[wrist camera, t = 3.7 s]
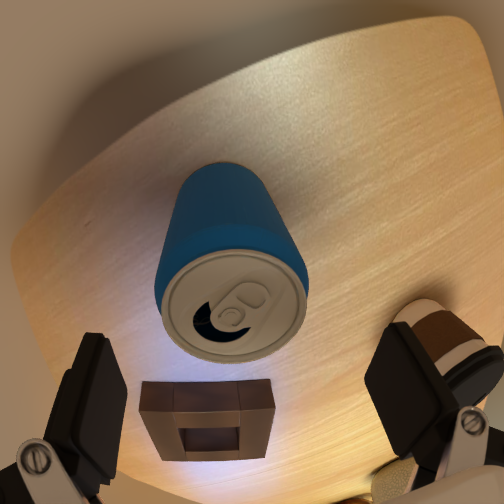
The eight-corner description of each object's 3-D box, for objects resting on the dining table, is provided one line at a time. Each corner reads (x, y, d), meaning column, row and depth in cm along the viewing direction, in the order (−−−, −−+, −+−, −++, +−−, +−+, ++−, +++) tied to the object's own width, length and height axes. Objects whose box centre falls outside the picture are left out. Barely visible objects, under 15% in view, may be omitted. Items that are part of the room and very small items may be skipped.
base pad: (163, 437, 37) (162, 460, 34) (142, 381, 31) (138, 410, 27) (260, 434, 39) (264, 457, 36) (269, 378, 32) (275, 407, 29)
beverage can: (159, 211, 22) (120, 325, 11) (217, 141, 20) (224, 201, 9) (227, 259, 24) (242, 386, 14) (285, 199, 22) (348, 301, 12)
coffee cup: (463, 295, 31) (520, 362, 20) (408, 359, 35) (448, 431, 25) (416, 265, 27) (489, 349, 17) (351, 344, 31) (394, 436, 21)
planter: (432, 452, 65) (453, 500, 49) (369, 483, 68) (386, 532, 52) (431, 436, 55) (459, 495, 39) (355, 473, 58) (375, 535, 42)
